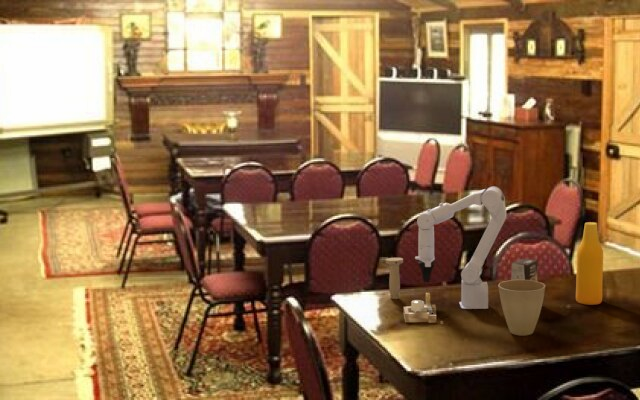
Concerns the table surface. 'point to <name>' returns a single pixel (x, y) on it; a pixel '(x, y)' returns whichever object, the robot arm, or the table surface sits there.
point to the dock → (420, 315)
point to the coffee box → (524, 270)
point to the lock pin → (428, 303)
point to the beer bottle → (589, 267)
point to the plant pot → (521, 304)
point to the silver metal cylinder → (417, 306)
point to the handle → (394, 276)
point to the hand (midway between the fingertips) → (426, 281)
